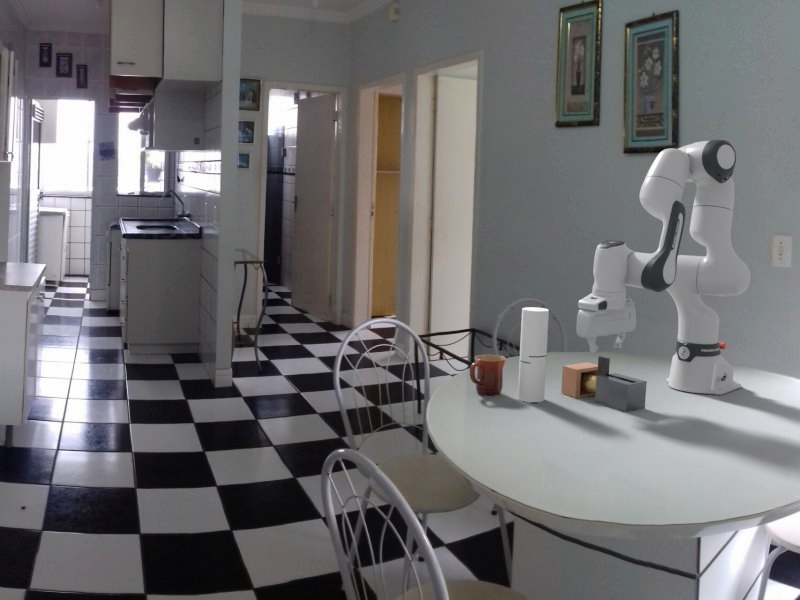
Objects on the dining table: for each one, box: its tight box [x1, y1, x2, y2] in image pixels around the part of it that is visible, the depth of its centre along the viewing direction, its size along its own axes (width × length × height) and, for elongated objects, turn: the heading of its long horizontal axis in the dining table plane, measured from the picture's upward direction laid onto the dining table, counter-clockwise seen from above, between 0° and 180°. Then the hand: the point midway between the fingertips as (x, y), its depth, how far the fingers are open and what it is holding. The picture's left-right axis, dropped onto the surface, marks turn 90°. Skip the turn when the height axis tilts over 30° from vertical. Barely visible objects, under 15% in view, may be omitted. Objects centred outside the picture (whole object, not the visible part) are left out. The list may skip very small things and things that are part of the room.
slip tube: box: [580, 355, 611, 395], centre depth 223 cm, size 5×12×11 cm, turn 34°
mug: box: [469, 354, 507, 397], centre depth 223 cm, size 12×9×10 cm
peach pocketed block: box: [560, 361, 598, 399], centre depth 227 cm, size 10×5×8 cm, turn 124°
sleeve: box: [594, 372, 647, 413], centre depth 215 cm, size 7×11×7 cm
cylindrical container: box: [517, 306, 550, 403], centre depth 218 cm, size 7×7×25 cm
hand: (605, 350), depth 219 cm, fingers open, 8 cm apart
